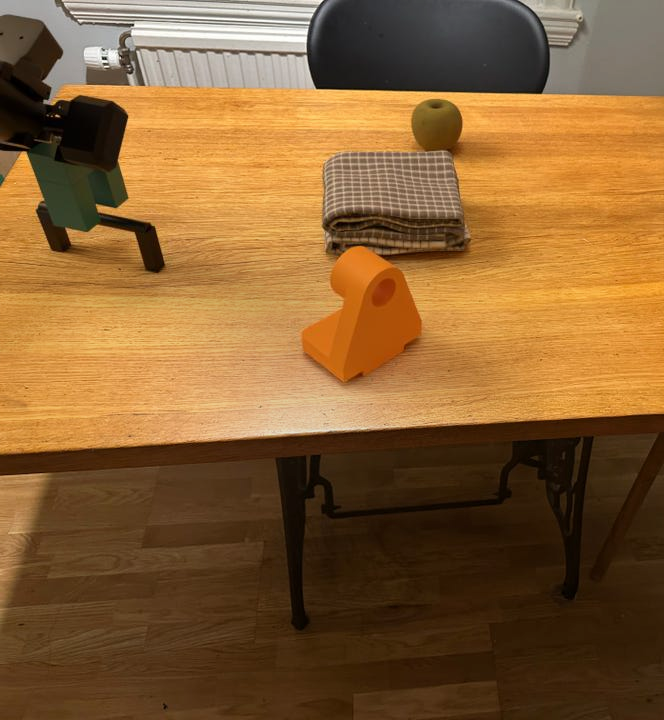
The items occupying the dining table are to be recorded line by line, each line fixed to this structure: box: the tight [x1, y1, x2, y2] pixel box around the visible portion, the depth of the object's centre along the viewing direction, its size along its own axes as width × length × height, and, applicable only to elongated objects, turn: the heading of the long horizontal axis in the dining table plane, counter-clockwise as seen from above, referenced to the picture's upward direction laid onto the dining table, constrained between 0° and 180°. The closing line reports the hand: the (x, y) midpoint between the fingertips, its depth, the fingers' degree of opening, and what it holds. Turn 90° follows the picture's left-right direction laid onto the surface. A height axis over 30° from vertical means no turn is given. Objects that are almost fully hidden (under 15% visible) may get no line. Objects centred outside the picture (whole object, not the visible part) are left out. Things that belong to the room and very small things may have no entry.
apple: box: [410, 98, 464, 152], centre depth 106 cm, size 8×8×7 cm
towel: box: [321, 150, 472, 257], centre depth 89 cm, size 15×18×8 cm
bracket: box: [300, 246, 423, 383], centre depth 70 cm, size 11×7×12 cm, turn 138°
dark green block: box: [25, 138, 129, 233], centre depth 74 cm, size 8×4×8 cm, turn 168°
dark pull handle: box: [35, 200, 166, 274], centre depth 79 cm, size 2×14×6 cm, turn 78°
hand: (82, 151), depth 74 cm, fingers closed on dark green block, 4 cm apart
